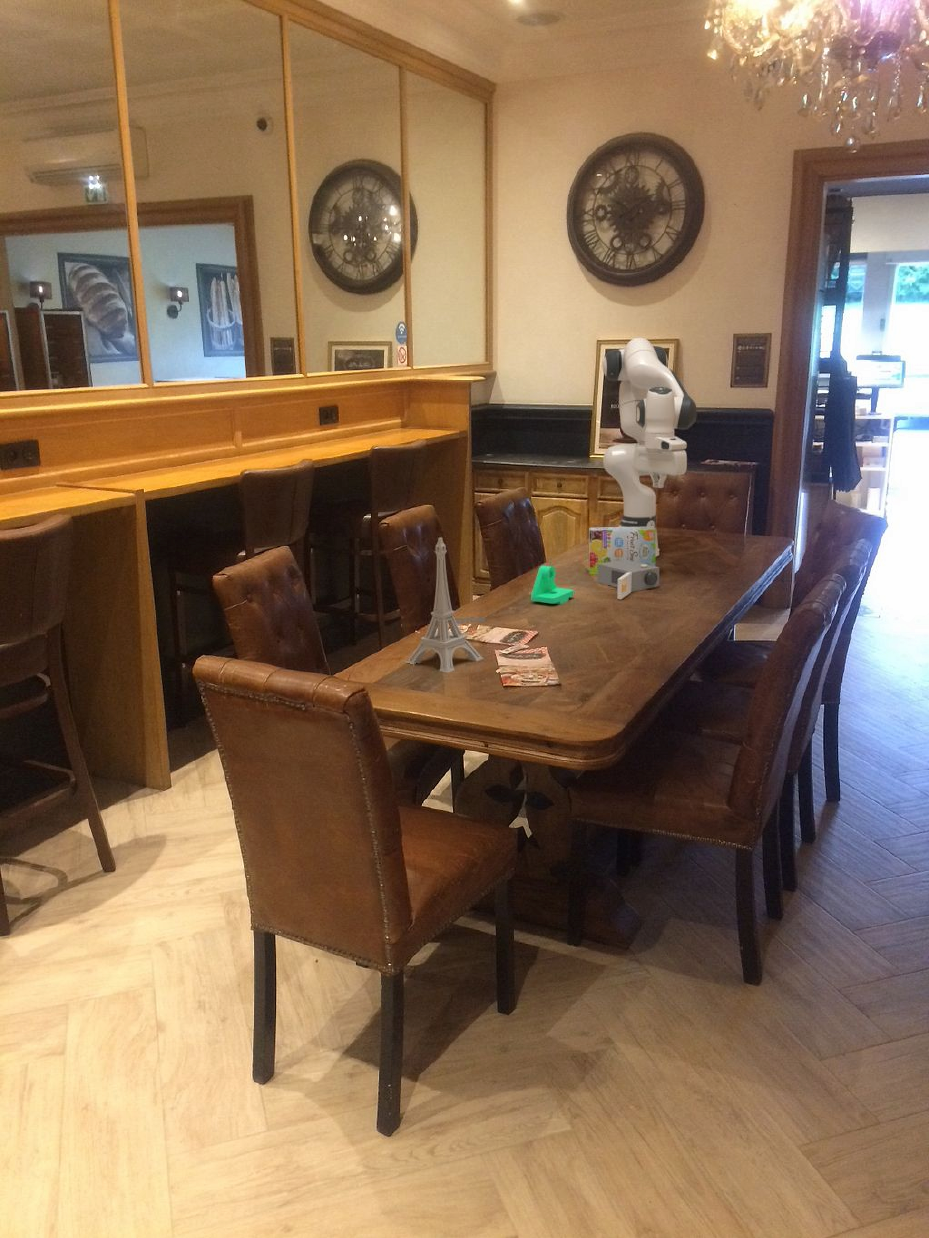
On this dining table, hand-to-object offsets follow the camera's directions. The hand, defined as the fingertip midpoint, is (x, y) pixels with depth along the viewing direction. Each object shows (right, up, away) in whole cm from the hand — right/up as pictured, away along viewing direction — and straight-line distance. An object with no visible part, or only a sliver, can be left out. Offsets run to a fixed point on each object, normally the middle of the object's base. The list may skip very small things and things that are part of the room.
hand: (658, 487), depth 305 cm
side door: (-12, -34, -12) cm, 37 cm away
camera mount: (-34, -36, -15) cm, 51 cm away
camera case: (-9, -30, +2) cm, 31 cm away
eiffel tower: (-65, -51, -68) cm, 107 cm away
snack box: (-8, -26, +18) cm, 33 cm away
